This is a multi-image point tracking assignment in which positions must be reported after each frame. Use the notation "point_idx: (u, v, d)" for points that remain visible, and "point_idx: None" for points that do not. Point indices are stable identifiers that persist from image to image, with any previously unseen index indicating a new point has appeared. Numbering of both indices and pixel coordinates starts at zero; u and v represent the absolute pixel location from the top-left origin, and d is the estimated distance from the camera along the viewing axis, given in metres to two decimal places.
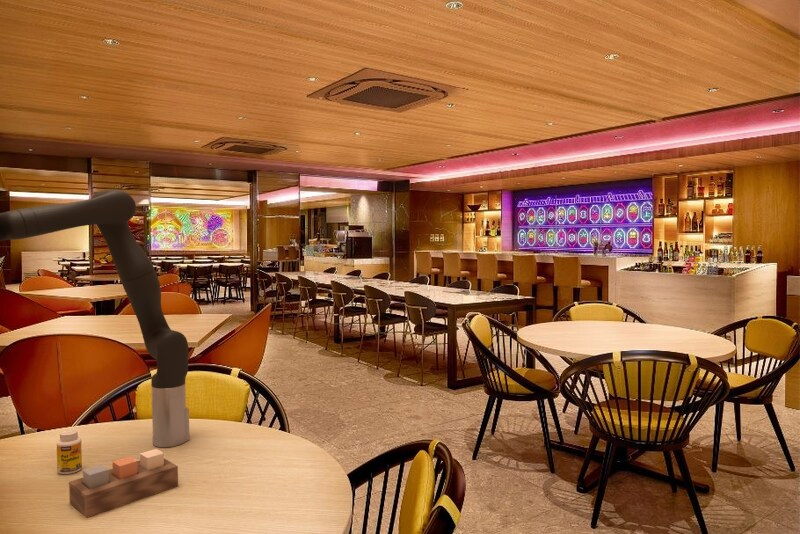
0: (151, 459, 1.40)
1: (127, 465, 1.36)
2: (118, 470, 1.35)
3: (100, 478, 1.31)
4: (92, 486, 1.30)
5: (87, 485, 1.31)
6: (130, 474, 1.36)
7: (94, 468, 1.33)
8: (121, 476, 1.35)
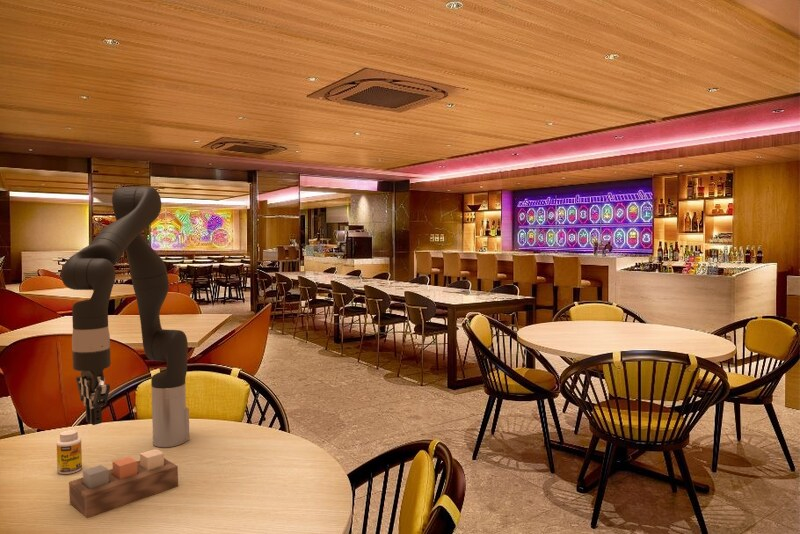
0: (151, 459, 1.40)
1: (127, 465, 1.36)
2: (118, 470, 1.35)
3: (100, 478, 1.31)
4: (92, 486, 1.30)
5: (87, 485, 1.31)
6: (130, 474, 1.36)
7: (94, 468, 1.33)
8: (121, 476, 1.35)
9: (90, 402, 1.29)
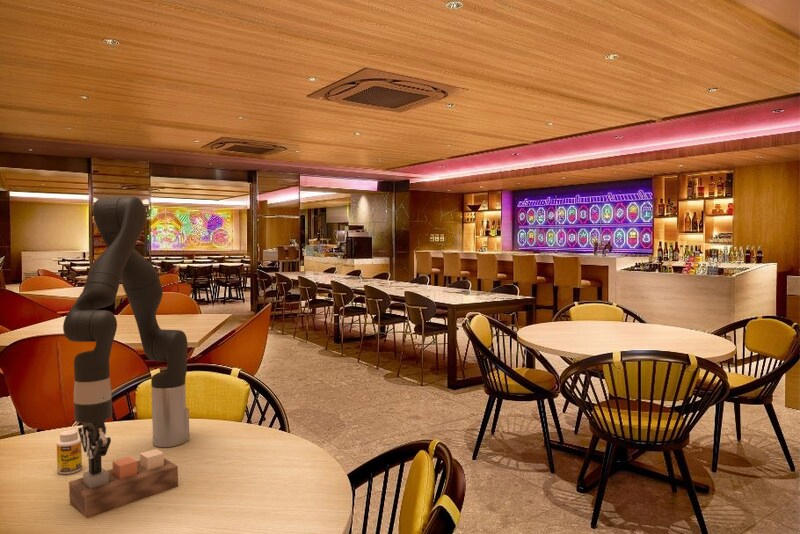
0: (151, 459, 1.40)
1: (127, 465, 1.36)
2: (118, 470, 1.35)
3: (100, 481, 1.31)
4: None
5: None
6: (130, 474, 1.36)
7: None
8: (121, 476, 1.35)
9: (90, 452, 1.31)
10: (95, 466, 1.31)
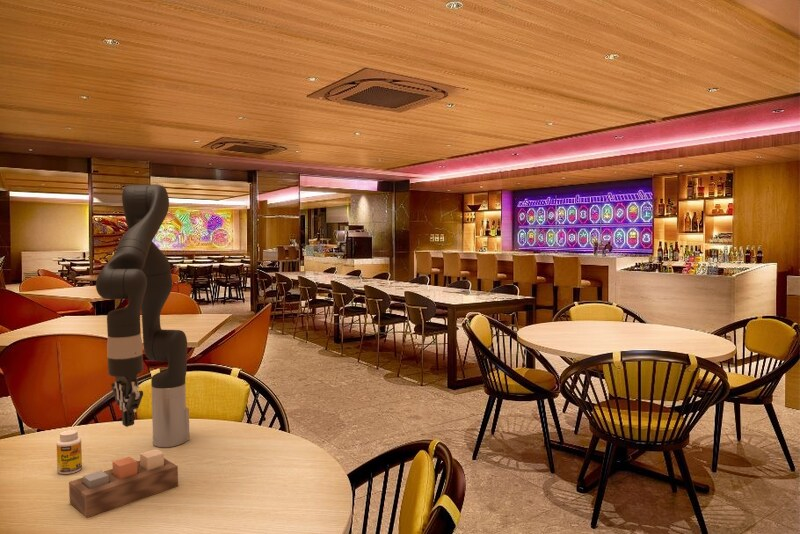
0: (151, 459, 1.40)
1: (127, 465, 1.36)
2: (118, 470, 1.35)
3: (100, 484, 1.31)
4: None
5: None
6: (130, 474, 1.36)
7: (94, 474, 1.33)
8: (121, 476, 1.35)
9: (123, 405, 1.36)
10: (128, 418, 1.37)
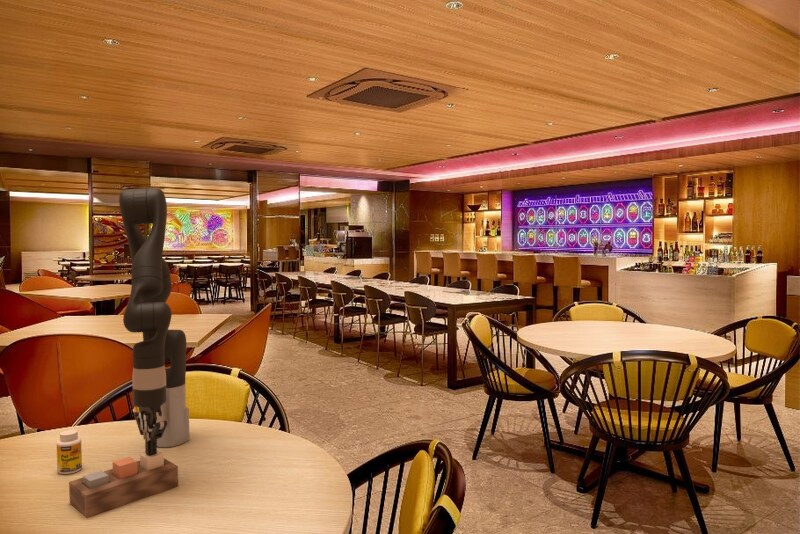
0: (151, 460, 1.40)
1: (127, 465, 1.36)
2: (118, 470, 1.35)
3: (100, 484, 1.31)
4: None
5: None
6: (130, 474, 1.36)
7: (94, 474, 1.33)
8: (121, 476, 1.35)
9: (147, 435, 1.40)
10: (151, 448, 1.41)
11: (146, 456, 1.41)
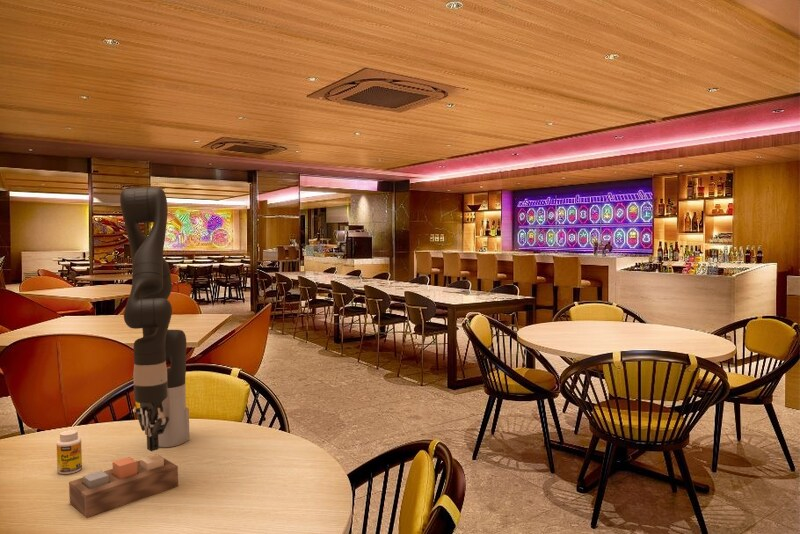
0: (151, 465, 1.40)
1: (127, 465, 1.36)
2: (118, 470, 1.35)
3: (100, 484, 1.31)
4: None
5: None
6: (130, 474, 1.36)
7: (94, 474, 1.33)
8: (121, 476, 1.35)
9: (149, 430, 1.40)
10: (153, 443, 1.41)
11: (146, 461, 1.41)
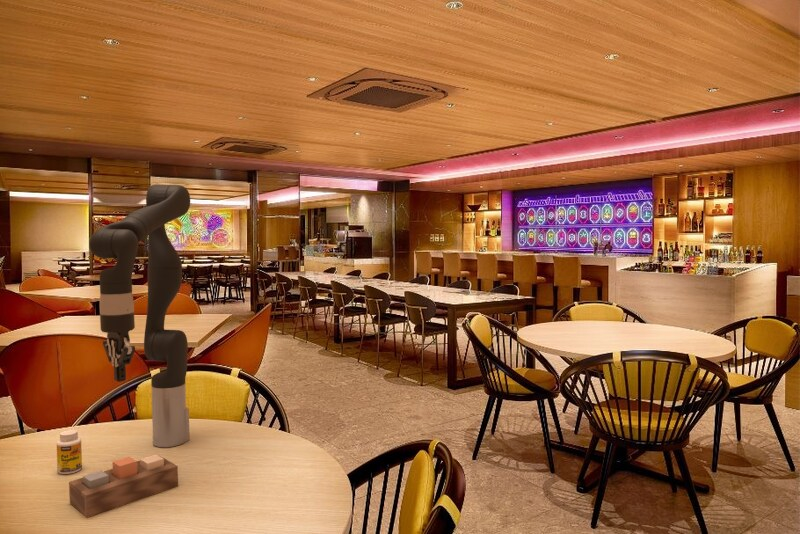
0: (151, 465, 1.40)
1: (127, 465, 1.36)
2: (118, 470, 1.35)
3: (100, 484, 1.31)
4: None
5: None
6: (130, 474, 1.36)
7: (94, 474, 1.33)
8: (121, 476, 1.35)
9: (115, 361, 1.41)
10: (120, 374, 1.42)
11: (146, 461, 1.41)
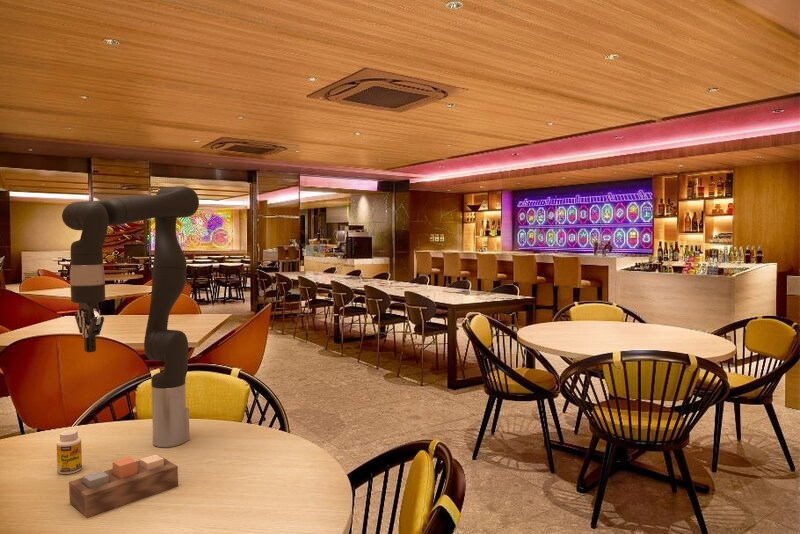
0: (151, 465, 1.40)
1: (127, 465, 1.36)
2: (118, 470, 1.35)
3: (100, 484, 1.31)
4: None
5: None
6: (130, 474, 1.36)
7: (94, 474, 1.33)
8: (121, 476, 1.35)
9: (85, 331, 1.44)
10: (90, 344, 1.44)
11: (146, 461, 1.41)
